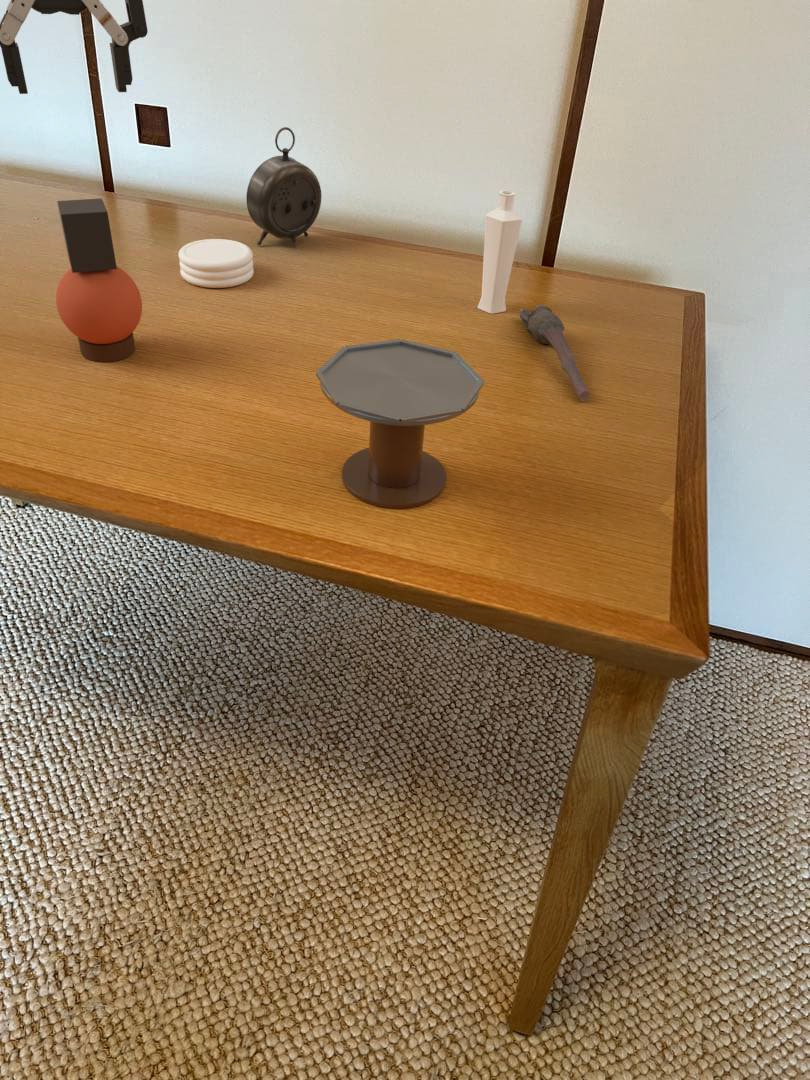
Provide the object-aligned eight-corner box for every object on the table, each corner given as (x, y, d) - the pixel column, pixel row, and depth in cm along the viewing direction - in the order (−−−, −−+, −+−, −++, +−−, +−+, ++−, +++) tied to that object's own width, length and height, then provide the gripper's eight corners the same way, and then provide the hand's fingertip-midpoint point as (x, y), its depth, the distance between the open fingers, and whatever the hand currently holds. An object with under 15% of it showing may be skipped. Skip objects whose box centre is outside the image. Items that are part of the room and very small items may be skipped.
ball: (71, 373, 90) (51, 283, 83) (63, 338, 96) (44, 252, 89) (154, 362, 93) (141, 275, 86) (142, 329, 99) (129, 245, 92)
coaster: (268, 279, 113) (266, 254, 111) (205, 295, 108) (203, 269, 106) (228, 257, 119) (226, 232, 116) (167, 271, 113) (164, 246, 111)
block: (72, 273, 85) (60, 214, 82) (68, 257, 89) (57, 200, 85) (117, 269, 87) (107, 211, 83) (111, 254, 90) (102, 198, 86)
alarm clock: (307, 231, 129) (305, 119, 119) (327, 242, 126) (327, 128, 116) (247, 244, 123) (240, 127, 113) (266, 255, 120) (260, 136, 110)
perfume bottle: (502, 317, 108) (519, 200, 99) (471, 310, 109) (485, 194, 100) (513, 305, 111) (531, 191, 102) (483, 298, 113) (498, 185, 103)
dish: (349, 535, 71) (352, 429, 64) (302, 451, 80) (299, 350, 74) (492, 505, 75) (508, 403, 68) (430, 429, 85) (439, 332, 78)
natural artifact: (529, 326, 109) (549, 302, 108) (584, 405, 92) (610, 378, 90) (508, 310, 107) (529, 285, 106) (561, 388, 90) (587, 360, 88)
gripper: (119, -132, 69) (145, 83, 80) (-66, -147, 65) (-14, 84, 75) (134, -130, 64) (159, 99, 74) (-68, -146, 59) (-11, 101, 69)
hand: (73, 91), depth 74 cm, fingers open, 8 cm apart
